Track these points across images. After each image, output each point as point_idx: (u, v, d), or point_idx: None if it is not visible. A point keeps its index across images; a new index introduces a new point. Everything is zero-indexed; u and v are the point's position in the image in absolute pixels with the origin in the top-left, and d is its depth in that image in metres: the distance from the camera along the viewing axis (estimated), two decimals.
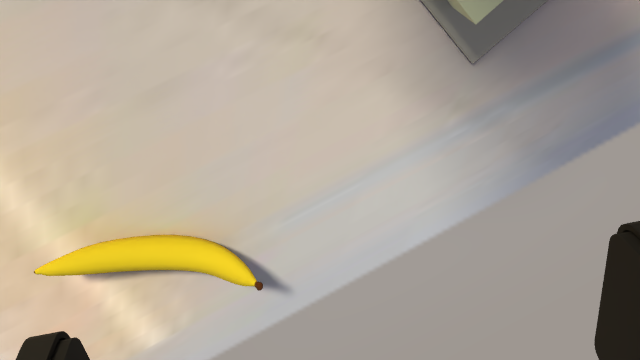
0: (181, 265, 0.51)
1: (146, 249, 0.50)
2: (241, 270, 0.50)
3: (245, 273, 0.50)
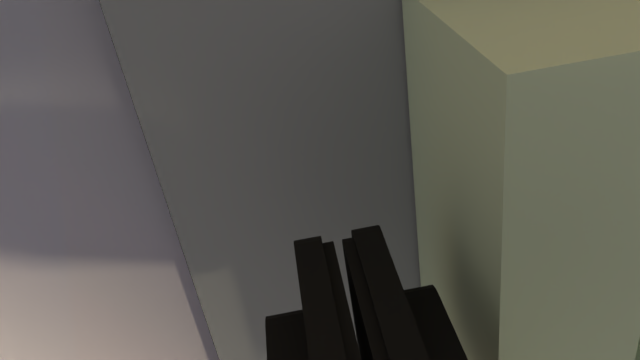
0: None
1: None
2: None
3: None
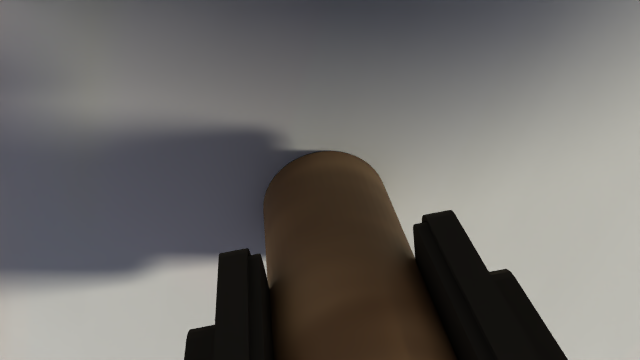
0: None
1: None
2: None
3: None
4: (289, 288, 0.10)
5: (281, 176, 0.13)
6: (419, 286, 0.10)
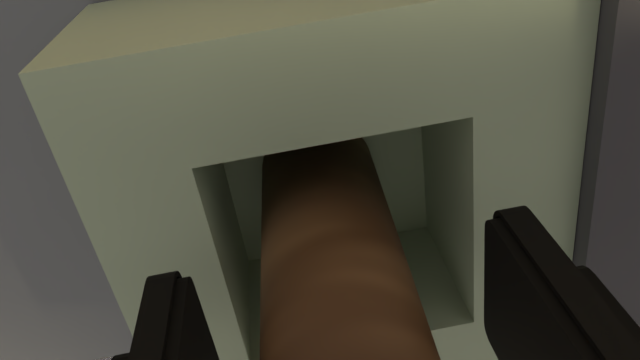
0: None
1: None
2: None
3: None
4: (276, 226, 0.11)
5: None
6: (387, 226, 0.11)
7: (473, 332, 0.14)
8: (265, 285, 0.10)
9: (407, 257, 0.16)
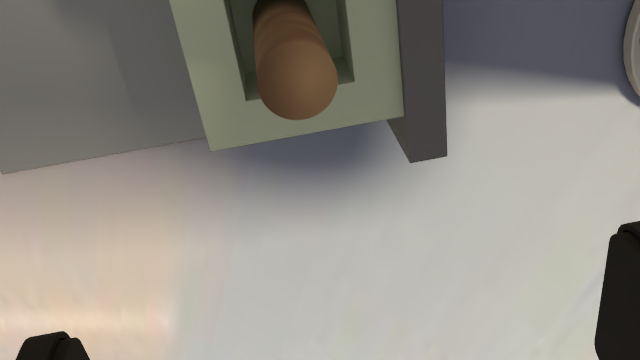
0: None
1: None
2: None
3: None
4: (260, 18, 0.26)
5: None
6: (309, 16, 0.26)
7: (355, 89, 0.28)
8: (256, 34, 0.25)
9: None
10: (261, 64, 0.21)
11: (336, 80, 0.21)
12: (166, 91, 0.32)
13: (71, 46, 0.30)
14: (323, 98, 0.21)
